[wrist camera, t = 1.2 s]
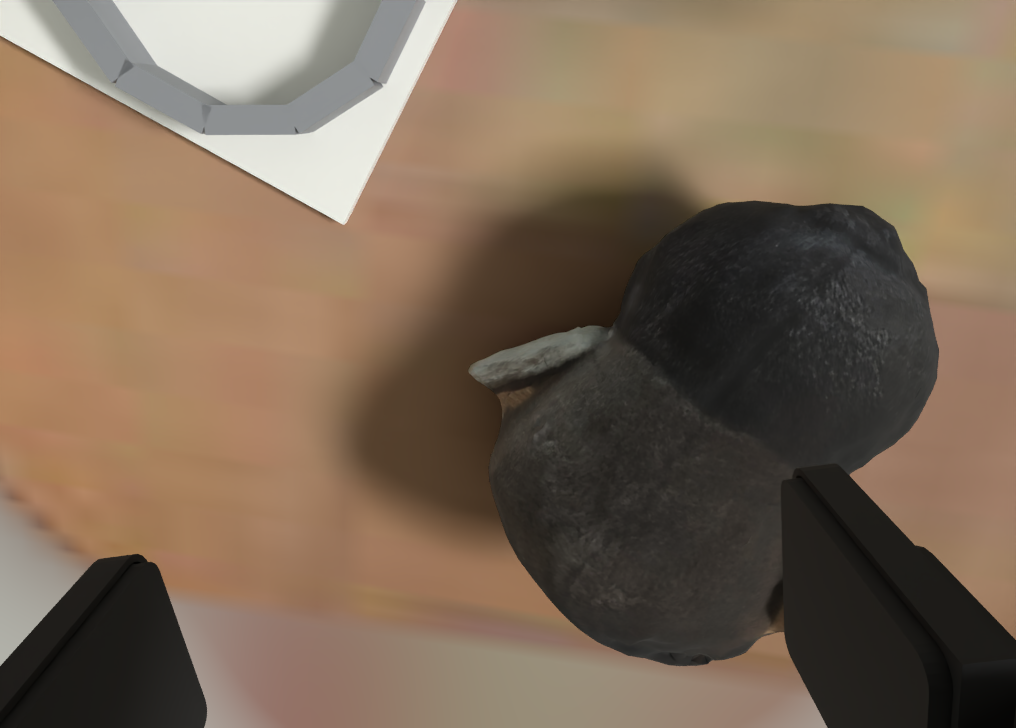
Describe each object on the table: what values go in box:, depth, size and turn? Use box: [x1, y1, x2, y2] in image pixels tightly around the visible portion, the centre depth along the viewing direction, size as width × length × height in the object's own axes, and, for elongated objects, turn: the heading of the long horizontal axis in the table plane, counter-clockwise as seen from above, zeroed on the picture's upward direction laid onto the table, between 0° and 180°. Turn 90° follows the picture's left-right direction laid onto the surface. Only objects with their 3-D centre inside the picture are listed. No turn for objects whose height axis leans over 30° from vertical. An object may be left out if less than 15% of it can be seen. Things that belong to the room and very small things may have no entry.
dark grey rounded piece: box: [468, 201, 939, 666], centre depth 33 cm, size 20×21×13 cm
